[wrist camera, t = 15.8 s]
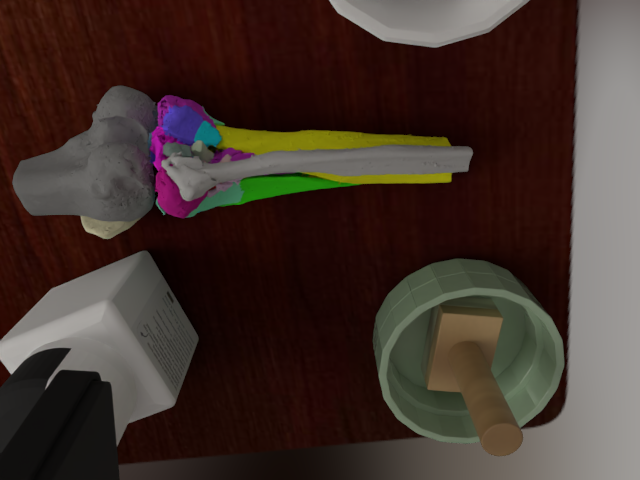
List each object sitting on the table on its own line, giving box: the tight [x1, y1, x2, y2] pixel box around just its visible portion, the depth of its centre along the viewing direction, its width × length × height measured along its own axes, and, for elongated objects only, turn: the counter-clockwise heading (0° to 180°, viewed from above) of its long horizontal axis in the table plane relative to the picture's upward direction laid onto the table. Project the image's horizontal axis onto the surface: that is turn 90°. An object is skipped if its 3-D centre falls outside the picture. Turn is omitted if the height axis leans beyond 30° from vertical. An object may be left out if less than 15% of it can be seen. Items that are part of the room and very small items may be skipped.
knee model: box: [12, 86, 473, 239], centre depth 33 cm, size 9×8×25 cm
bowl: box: [372, 259, 564, 444], centre depth 37 cm, size 12×12×5 cm
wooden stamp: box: [421, 297, 523, 456], centre depth 34 cm, size 6×4×11 cm, turn 174°
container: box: [0, 251, 199, 453], centre depth 33 cm, size 8×8×13 cm
